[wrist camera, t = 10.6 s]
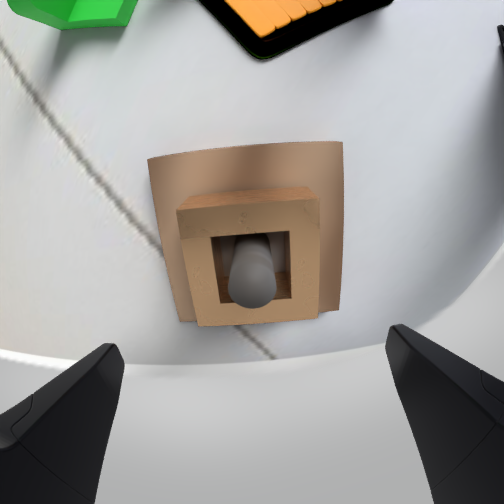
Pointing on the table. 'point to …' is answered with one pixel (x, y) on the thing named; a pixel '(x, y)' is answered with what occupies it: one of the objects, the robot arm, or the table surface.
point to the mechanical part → (75, 12)
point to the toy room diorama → (284, 20)
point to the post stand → (255, 244)
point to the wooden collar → (246, 222)
